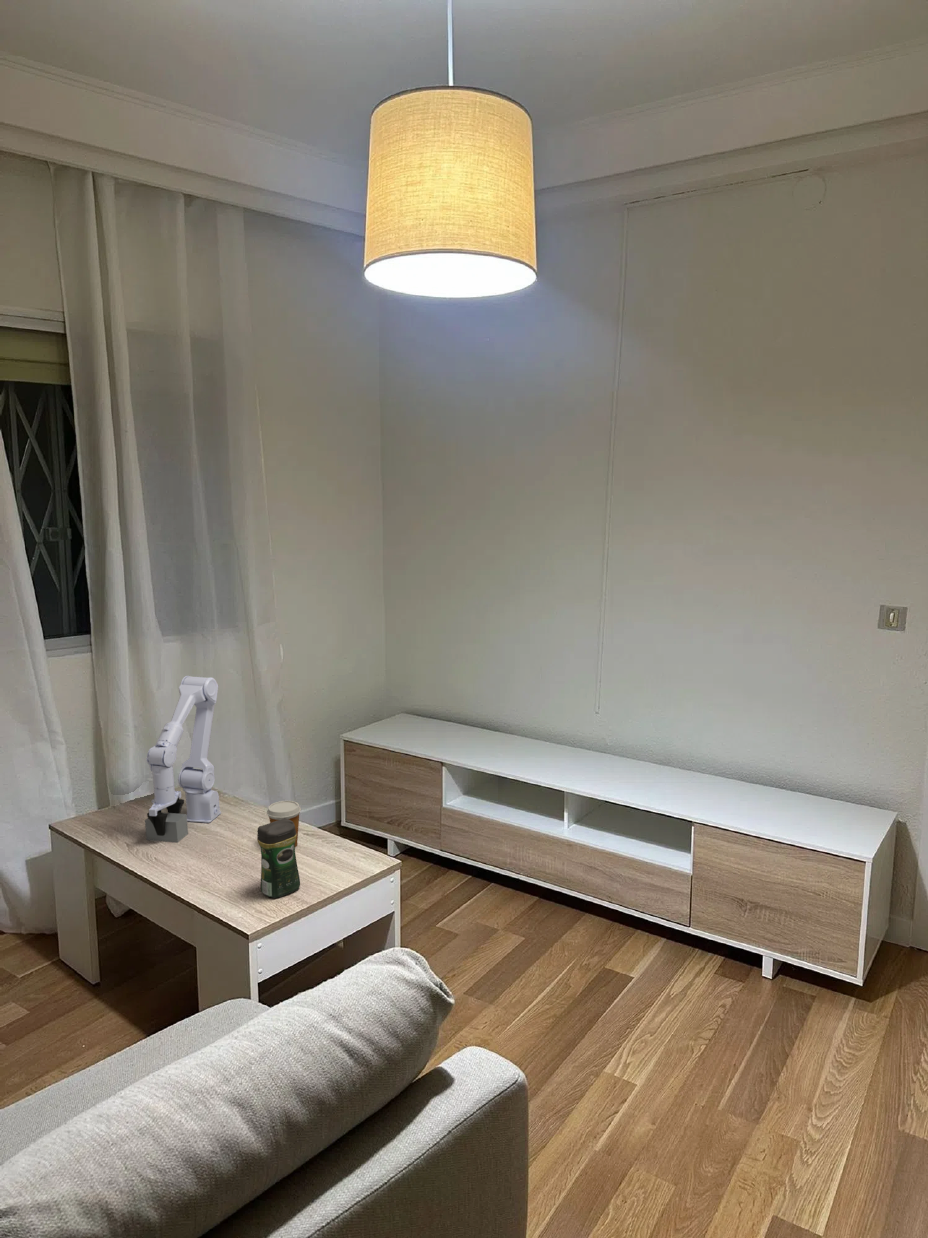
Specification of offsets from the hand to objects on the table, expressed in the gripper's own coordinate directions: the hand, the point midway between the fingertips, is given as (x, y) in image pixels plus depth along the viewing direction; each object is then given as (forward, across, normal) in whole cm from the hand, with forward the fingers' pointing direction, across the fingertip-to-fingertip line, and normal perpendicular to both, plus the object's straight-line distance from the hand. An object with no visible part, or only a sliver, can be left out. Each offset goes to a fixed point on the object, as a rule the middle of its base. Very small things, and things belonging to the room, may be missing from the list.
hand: (167, 829), depth 262 cm
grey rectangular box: (+2, 0, 0) cm, 2 cm away
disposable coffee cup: (+2, 0, +37) cm, 37 cm away
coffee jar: (+3, +25, +46) cm, 52 cm away
